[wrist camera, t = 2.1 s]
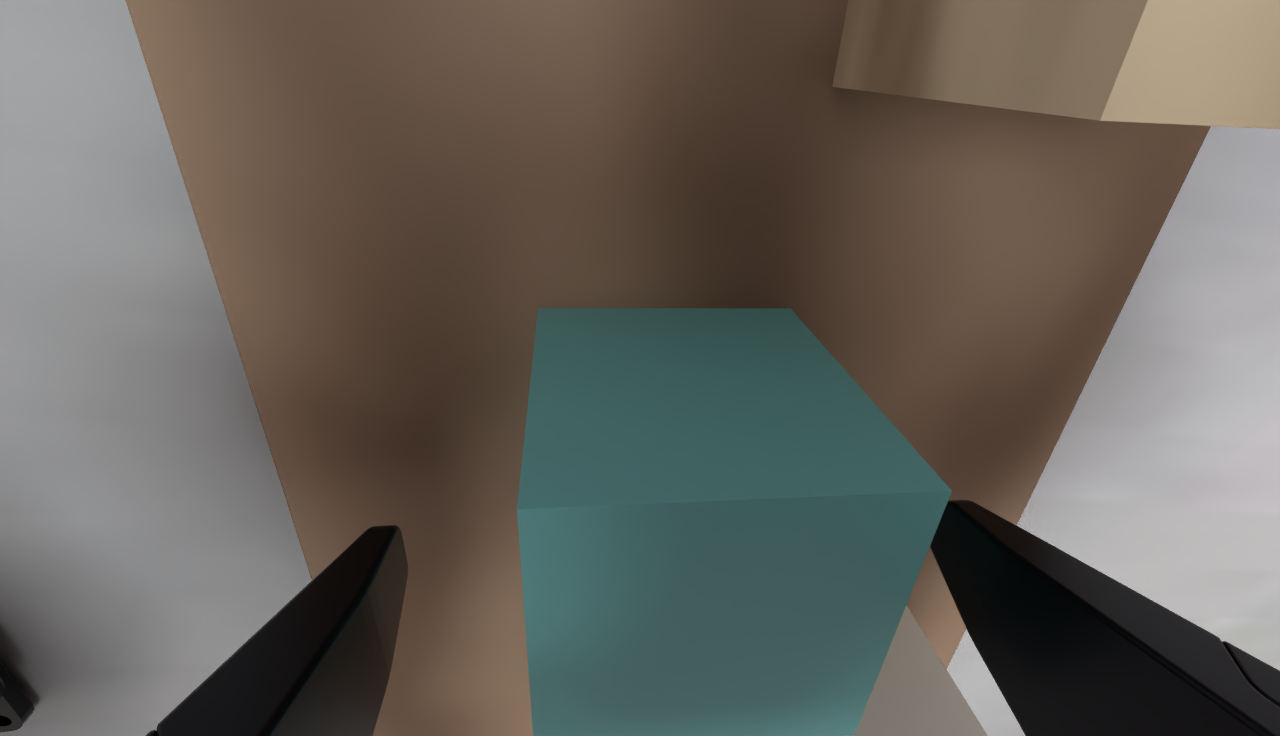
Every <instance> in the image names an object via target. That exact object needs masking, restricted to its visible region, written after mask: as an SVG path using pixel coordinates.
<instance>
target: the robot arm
mask: <svg viewBox="0 0 1280 736" xmlns="http://www.w3.org/2000/svg"><path fill="white" fill-rule="evenodd" d="M930 547H931V550H932V553H933V555H934V557H935V559H936V562H937V564H938V566H939V568H940V571H941V573H942V575H943V578H944V580H945V582H946V584H947V587H948V589H949V591H950V593H951V596H952V598H953V600H954V602H955V605H956V607H957V609H958V611H959V614H960V616H961V618H962V620H963V622H964V624H965V626H966V629H967V631H968V633H969V635H970V637H971V638H972V640H973V642H974V644H975V646H976V648H977V650H978V651H979V653H980V655H981V657H982V658H983V660H984V662H985V664H986V666H987V667H988V669H989V671H990V673H991V675H992V676H993V678H994V680H995V682H996V683H997V685H998V687H999V689H1000V691H1001V692H1002V694H1003V696H1004V698H1005V699H1006V701H1007V703H1008V705H1009V707H1010V708H1011V710H1012V712H1013V714H1014V716H1015V717H1016V719H1017V721H1018V723H1019V724H1020V726H1021V728H1022V730H1023V732H1024V733H1025V735H1026V736H1280V671H1279V670H1277V669H1275V668H1273V667H1272V666H1270V665H1268V664H1266V663H1264V662H1262V661H1260V660H1259V659H1257V658H1255V657H1253V656H1251V655H1250V654H1248V653H1246V652H1244V651H1242V650H1241V649H1239V648H1237V647H1235V646H1233V645H1232V644H1230V643H1228V642H1225V641H1223V642H1222V641H1221V640H1220V638H1219V637H1217V636H1215V635H1213V634H1212V633H1210V632H1208V631H1206V630H1204V629H1203V628H1201V627H1199V626H1197V625H1195V624H1193V623H1192V622H1190V621H1188V620H1186V619H1184V618H1183V617H1181V616H1179V615H1177V614H1175V613H1174V612H1172V611H1170V610H1168V609H1166V608H1165V607H1163V606H1161V605H1159V604H1157V603H1155V602H1154V601H1152V600H1150V599H1148V598H1146V597H1145V596H1143V595H1141V594H1139V593H1137V592H1136V591H1134V590H1132V589H1130V588H1128V587H1127V586H1125V585H1123V584H1121V583H1119V582H1117V581H1116V580H1114V579H1112V578H1110V577H1108V576H1107V575H1105V574H1103V573H1101V572H1099V571H1098V570H1096V569H1094V568H1092V567H1090V566H1089V565H1087V564H1085V563H1083V562H1081V561H1079V560H1078V559H1076V558H1074V557H1072V556H1070V555H1069V554H1067V553H1065V552H1063V551H1061V550H1060V549H1058V548H1056V547H1054V546H1052V545H1051V544H1049V543H1047V542H1045V541H1043V540H1042V539H1040V538H1038V537H1036V536H1034V535H1032V534H1031V533H1029V532H1027V531H1025V530H1023V529H1022V528H1020V527H1018V526H1016V525H1014V524H1013V523H1011V522H1009V521H1007V520H1005V519H1004V518H1002V517H1000V516H998V515H996V514H995V513H993V512H991V511H989V510H987V509H985V508H984V507H982V506H980V505H978V504H976V503H975V502H973V501H970V500H950V501H948V502H947V505H946V507H945V510H944V512H943V515H942V517H941V520H940V522H939V525H938V527H937V530H936V532H935V535H934V537H933V540H932V542H931V545H930ZM407 578H408V561H407V556H406V551H405V547H404V542H403V537H402V532H401V530H400V528H399V527H398V526H396V525H386V526H373V527H370V528H368V529H367V530H366V531H365V532H364V533H363V534H362V535H360V536H359V537H358V538H357V539H356V540H355V541H354V542H353V543H352V544H351V545H350V546H349V547H348V548H347V549H345V550H344V551H343V552H342V553H341V554H340V555H339V556H338V557H337V558H336V559H335V560H334V561H333V562H332V563H330V564H329V565H328V566H327V567H326V568H325V569H324V570H323V571H322V572H321V573H320V574H319V575H318V576H316V577H315V578H314V579H313V580H312V581H311V582H310V583H309V584H308V585H307V586H306V587H305V588H304V589H303V590H301V591H300V592H299V593H298V594H297V595H296V596H295V597H294V598H293V599H292V600H291V601H290V602H289V603H288V604H286V605H285V606H284V607H283V608H282V609H281V610H280V611H279V612H278V613H277V614H276V615H275V616H274V617H273V618H271V619H270V620H269V621H268V622H267V623H266V624H265V625H264V626H263V627H262V628H261V629H260V630H259V631H258V632H256V633H255V634H254V635H253V636H252V637H251V638H250V639H249V640H248V641H247V642H246V643H245V644H244V645H243V646H241V647H240V648H239V649H238V650H237V651H236V652H235V653H234V654H233V655H232V656H231V657H230V658H229V659H228V660H226V661H225V662H224V663H223V664H222V665H221V666H220V667H219V668H218V669H217V670H216V671H215V672H214V673H213V674H211V675H210V676H209V677H208V678H207V679H206V680H205V681H204V682H203V683H202V684H201V685H200V686H199V687H198V688H196V689H195V690H194V691H193V692H192V693H191V694H190V695H189V696H188V697H187V698H186V699H185V700H184V701H183V702H181V703H180V704H179V705H178V706H177V707H176V708H175V709H174V710H173V711H172V712H171V713H170V714H169V715H168V716H166V717H165V718H164V719H163V720H162V721H161V722H160V723H159V724H158V726H157V731H156V730H152V731H150V732H149V733H148V734H147V735H146V736H373V733H374V730H375V726H376V723H377V719H378V716H379V713H380V709H381V706H382V703H383V699H384V696H385V692H386V689H387V685H388V681H389V677H390V672H391V667H392V662H393V657H394V651H395V646H396V640H397V635H398V629H399V623H400V618H401V612H402V607H403V601H404V595H405V590H406V584H407ZM34 709H35V708H34V706H33V704H32V702H31V701H30V700H29V699H28V697H27V696H26V695H25V693H24V692H23V691H22V689H21V688H20V687H19V686H18V684H17V683H16V682H15V680H14V679H13V678H12V676H11V675H10V674H9V673H8V671H7V670H6V669H5V667H4V666H3V665H2V663H1V662H0V732H8V731H14V730H17V729H19V728H20V727H22V725H23V724H24V723H25V722H26V720H27V719H28V718H29V717H30V715H31V714H32V713H33V711H34Z"/></svg>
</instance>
